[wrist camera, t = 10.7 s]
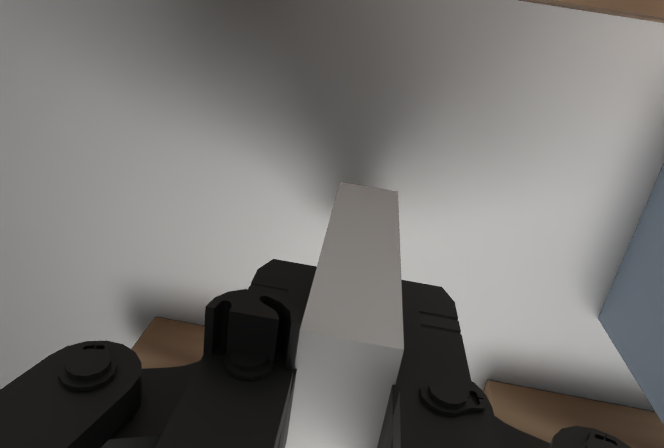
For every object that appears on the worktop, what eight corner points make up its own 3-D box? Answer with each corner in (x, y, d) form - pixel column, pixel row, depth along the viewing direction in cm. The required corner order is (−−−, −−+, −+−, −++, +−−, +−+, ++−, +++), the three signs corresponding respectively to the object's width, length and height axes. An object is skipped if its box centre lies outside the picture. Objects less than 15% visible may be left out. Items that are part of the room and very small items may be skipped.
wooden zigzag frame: (154, 483, 22) (103, 586, 19) (157, -127, 13) (56, -178, 9) (676, 590, 21) (738, 723, 17) (1066, 8, 12) (1379, 15, 8)
